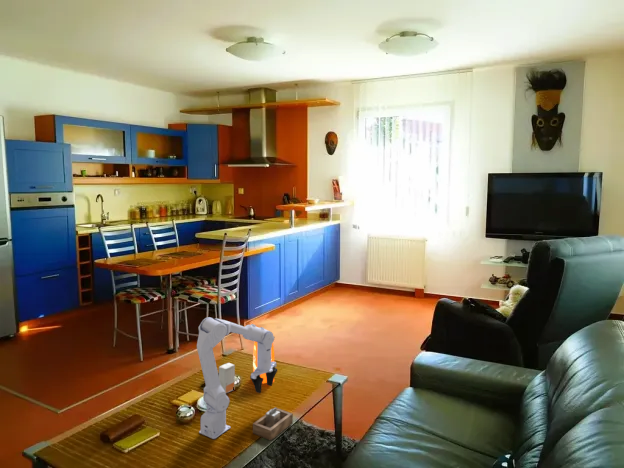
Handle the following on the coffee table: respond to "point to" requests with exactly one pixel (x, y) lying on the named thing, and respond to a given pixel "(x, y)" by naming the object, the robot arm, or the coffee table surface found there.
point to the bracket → (272, 417)
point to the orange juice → (256, 360)
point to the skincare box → (227, 376)
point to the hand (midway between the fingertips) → (264, 388)
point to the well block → (272, 432)
